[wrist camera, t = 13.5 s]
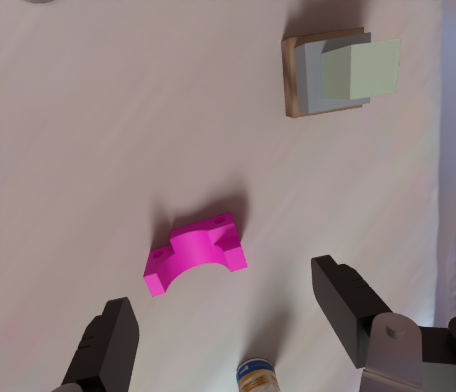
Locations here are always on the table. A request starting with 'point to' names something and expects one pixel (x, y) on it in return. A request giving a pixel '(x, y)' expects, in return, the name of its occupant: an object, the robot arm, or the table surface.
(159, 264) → the toy block
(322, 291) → the robot arm
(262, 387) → the beverage bottle
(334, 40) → the block
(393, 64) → the sage block
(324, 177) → the table surface
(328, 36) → the block
